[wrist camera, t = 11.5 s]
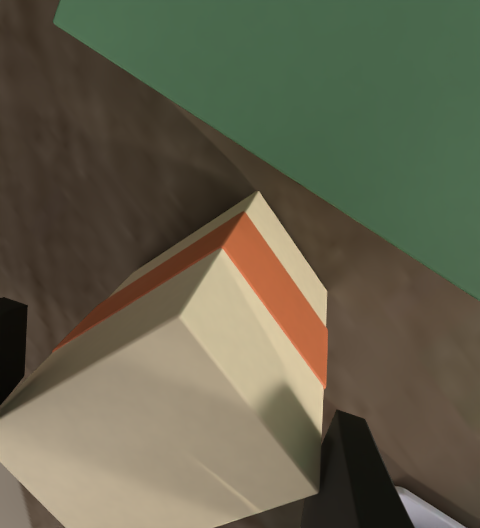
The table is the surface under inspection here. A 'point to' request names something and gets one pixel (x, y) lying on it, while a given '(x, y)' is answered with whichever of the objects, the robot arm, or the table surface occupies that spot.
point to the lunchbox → (327, 101)
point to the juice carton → (182, 388)
